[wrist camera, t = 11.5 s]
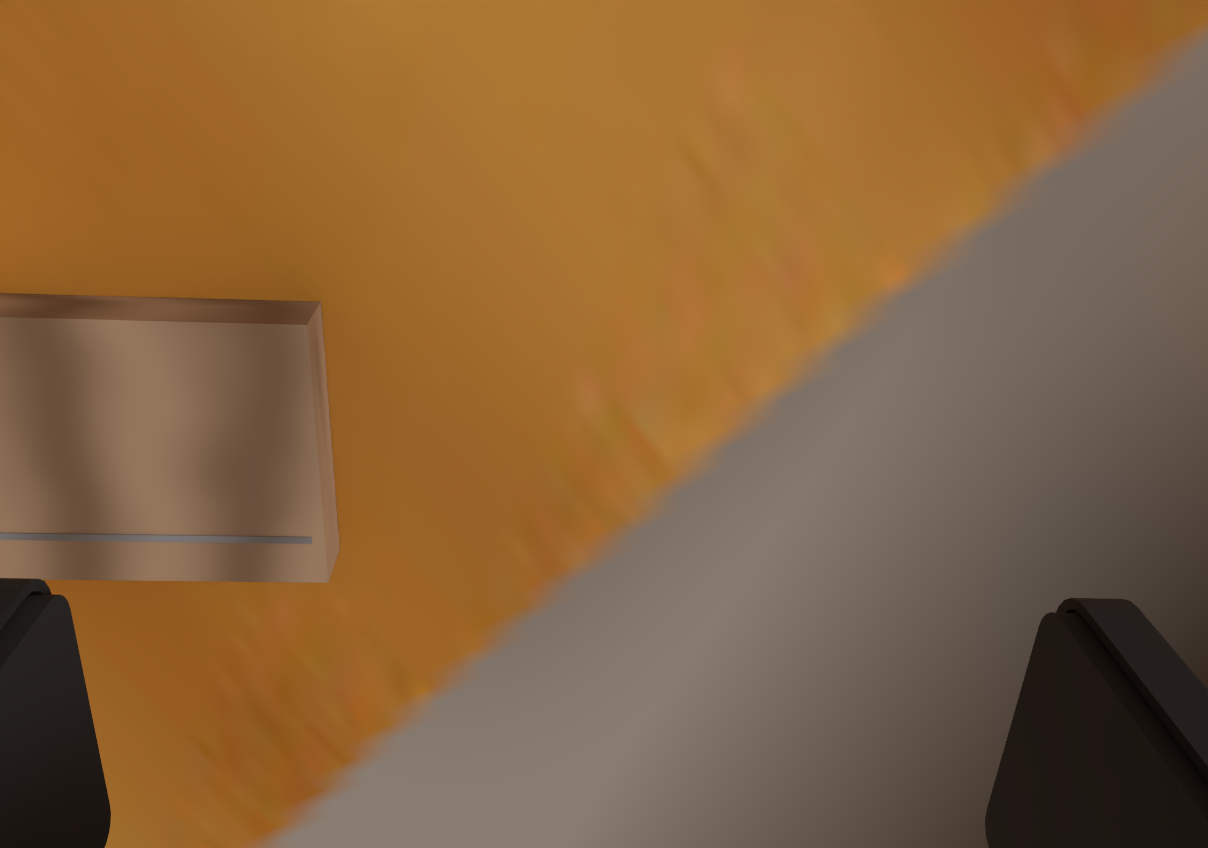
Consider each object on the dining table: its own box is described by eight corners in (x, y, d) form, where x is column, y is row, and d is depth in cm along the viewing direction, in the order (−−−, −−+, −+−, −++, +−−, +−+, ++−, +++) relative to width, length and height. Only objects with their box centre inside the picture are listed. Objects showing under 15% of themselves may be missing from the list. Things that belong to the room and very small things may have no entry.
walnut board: (-152, 542, 43) (-192, 577, 41) (-232, 287, 39) (-282, 310, 36) (339, 548, 44) (328, 583, 42) (320, 301, 40) (306, 325, 37)
